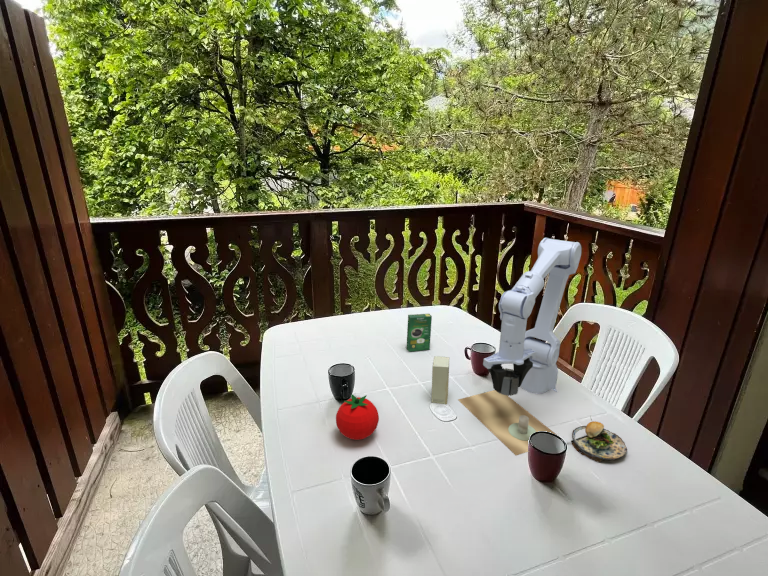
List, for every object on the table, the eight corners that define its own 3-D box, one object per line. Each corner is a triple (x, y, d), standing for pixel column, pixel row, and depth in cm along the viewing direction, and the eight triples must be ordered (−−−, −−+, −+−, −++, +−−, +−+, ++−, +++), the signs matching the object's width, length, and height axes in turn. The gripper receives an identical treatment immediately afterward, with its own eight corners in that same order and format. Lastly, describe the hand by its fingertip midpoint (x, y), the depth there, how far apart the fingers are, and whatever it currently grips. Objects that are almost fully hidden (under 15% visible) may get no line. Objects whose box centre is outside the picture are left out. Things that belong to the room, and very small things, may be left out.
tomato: (384, 426, 104) (384, 391, 101) (369, 453, 95) (369, 416, 92) (346, 417, 108) (345, 384, 105) (329, 443, 98) (327, 407, 95)
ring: (508, 382, 109) (509, 366, 108) (522, 392, 104) (524, 376, 103) (490, 386, 107) (491, 370, 106) (504, 397, 102) (505, 381, 101)
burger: (603, 471, 90) (609, 443, 88) (559, 440, 100) (563, 413, 98) (637, 454, 95) (644, 426, 93) (592, 425, 105) (597, 400, 103)
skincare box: (446, 407, 112) (449, 367, 108) (430, 405, 113) (432, 366, 109) (448, 395, 118) (450, 356, 114) (432, 393, 119) (434, 355, 115)
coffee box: (428, 346, 147) (429, 312, 143) (430, 350, 144) (432, 315, 140) (406, 348, 146) (407, 314, 141) (408, 352, 143) (409, 317, 139)
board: (498, 391, 119) (500, 376, 118) (562, 443, 98) (565, 425, 97) (457, 402, 114) (458, 386, 113) (515, 459, 93) (517, 440, 92)
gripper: (497, 350, 95) (492, 401, 99) (547, 340, 100) (540, 389, 104) (480, 338, 101) (475, 387, 105) (527, 329, 106) (521, 376, 110)
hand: (506, 387), depth 105 cm, fingers closed on ring, 6 cm apart
